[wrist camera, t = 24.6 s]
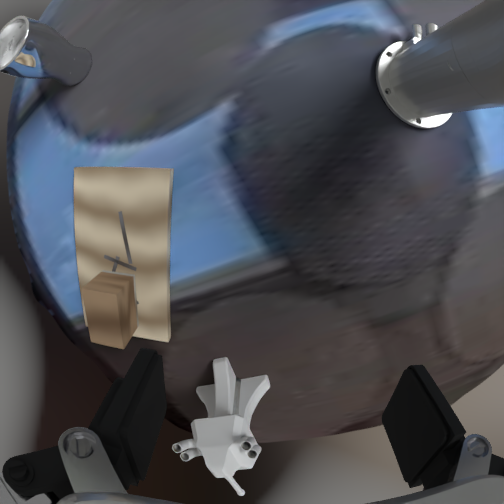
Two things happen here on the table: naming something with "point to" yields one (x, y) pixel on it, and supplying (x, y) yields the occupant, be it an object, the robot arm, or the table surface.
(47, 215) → the table surface
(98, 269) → the board
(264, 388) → the toy gun turret
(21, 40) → the beer glass
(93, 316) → the block
